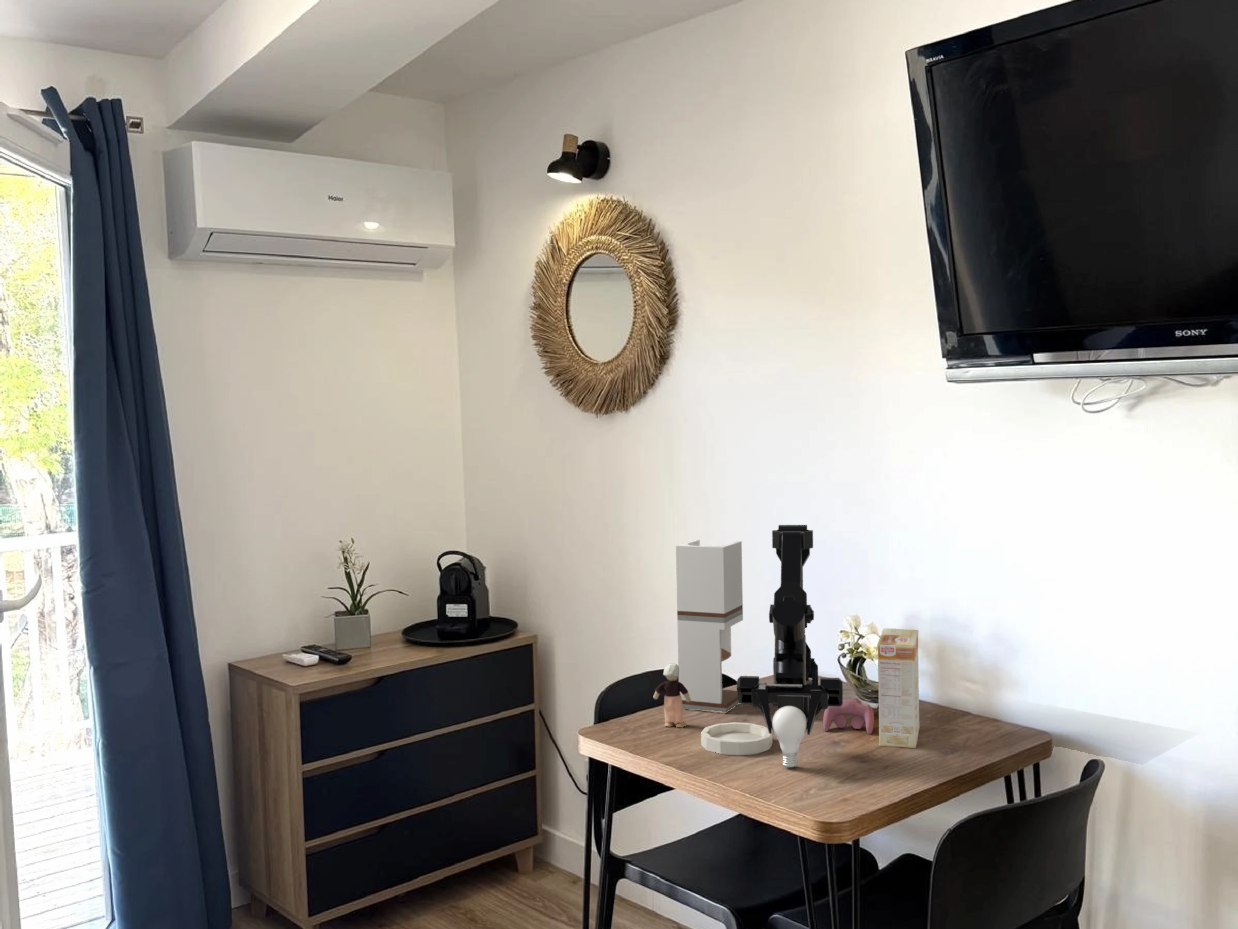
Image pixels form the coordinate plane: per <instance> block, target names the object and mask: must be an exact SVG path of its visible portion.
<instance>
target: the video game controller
mask: <svg viewBox="0 0 1238 929" xmlns="http://www.w3.org/2000/svg"><path fill="white" fill-rule="evenodd" d="M845 715H849V716H854V717H853V718H852V719H851V722H850V724H851V726H852V727H853V729H854V730H856V729H859V730H861V729H862V728H863V727H864V726H865V730H866V733H867V734H868V735H871V734H872V733H873V730H874V723H875V711H874V709H873V708H872V706H871V705H870V704H868V703H867V702H864V701H861V700H858V699H851V698H843V703H842V705H841V706H828V708H827V709H824V713H823V718H822V728H823V731H825V732H828V731H829V730H831V729H830V728H831V727H832V723H835V726H836V727H837V728H838V729H845V728H846V727H847V726H848V721H847V718H846V717H845Z"/></svg>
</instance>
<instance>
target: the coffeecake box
mask: <svg viewBox="0 0 1238 929" xmlns="http://www.w3.org/2000/svg"><path fill="white" fill-rule="evenodd" d="M877 673H878V674H877V675H878V676H877V678H878V680H877V681H878V686H877V687H878V735H879V736H878V737H879V738H878V746H879V747H891V748H892V747H893V748H911V749H916V748H917V744H918V738H919V733H920V732H919V731H920V689H919V688H920V687H919V683H920V682H919V681H920V680H919V630H918V629H904V628H893V627H892V628H887V627H886V628H882V632H881V634H880V637H879V639H878V641H877Z"/></svg>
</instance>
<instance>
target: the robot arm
mask: <svg viewBox="0 0 1238 929" xmlns="http://www.w3.org/2000/svg"><path fill="white" fill-rule="evenodd" d="M777 526H778V527H777V528H778V529H774V530H771V533H772V536H771V538H772V539H771V542H772V544H771V547H772V549H775V554H776V556H777V558H778V559H779V561H780V586H779V588H777V589H776V590H775V592H774V593H773V604H769V605H770V606H769V612H768V618H769V623H770V624H772V626H773V635H774V657H773V658H772V659H773V661H772V662H773V663H772V665H773V667H772V668H773V669H772V670H773V683H767V682H765V681H760V676H758V675H740V676H739V677H738V678H737V679H736V680H737V681H736V691H737V694H738V702H739V703H741V704H740V705H752V707H753V708H756V709H759V711H760V712H761V715H762V716H763V719H764V722H765V725H766V727H767V728H768V731H769V734H771V733H772V734H773V730H772V725H771V721H772V717H771V710H770V709H771V708H770V705H772V707H777V710H778V709H779V708H781V707H784V706H794V707H797V708H798V709H800V710H801V711H802V712H803V713H804V714H805V716H806V718H807V731H806V733H807V735H808V736H810V735H811V732H812V729H813V727H814V724H815V722H816V719H817V716H818V715H819V714H820V713H821V711H822V710H825V709H827V708H828V706H841V705H842V703H843V699H844V698H843V694H844V693H843V692H844V689H843V680H841V678H840V677H821V676H819V665H818V664H817V663H816V661H815V658H813V657H812V650H811V648H810V646H809V645H808V643H807V642H806V641H807V639H806V629H807V628H808V624H811V623H812V622H813V621H814V620H815V611H814V610H813V609H812V606H811V604H808V595H807V592H806V590H804V566H805V564H806V563H807V561H808V559H810V558H809V557H810V556H811V549H813V548H814V530H813V529H808V524H778V525H777ZM819 677H820V678H819ZM777 710H775V711H773V714H774V713H775V712H776V711H777Z"/></svg>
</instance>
